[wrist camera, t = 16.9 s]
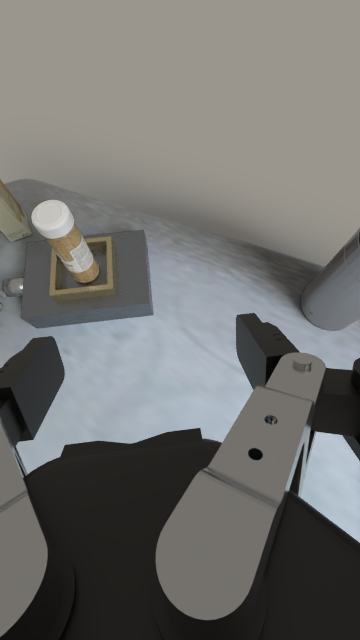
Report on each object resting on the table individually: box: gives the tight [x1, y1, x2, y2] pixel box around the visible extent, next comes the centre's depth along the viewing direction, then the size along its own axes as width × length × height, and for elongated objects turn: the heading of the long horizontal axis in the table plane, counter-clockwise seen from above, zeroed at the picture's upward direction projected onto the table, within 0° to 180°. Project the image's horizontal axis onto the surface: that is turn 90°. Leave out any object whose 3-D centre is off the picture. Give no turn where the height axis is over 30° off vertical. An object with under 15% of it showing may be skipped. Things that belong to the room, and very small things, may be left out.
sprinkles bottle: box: [31, 200, 99, 283], centre depth 39 cm, size 5×4×14 cm
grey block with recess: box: [3, 230, 153, 328], centre depth 47 cm, size 24×14×7 cm, turn 97°
